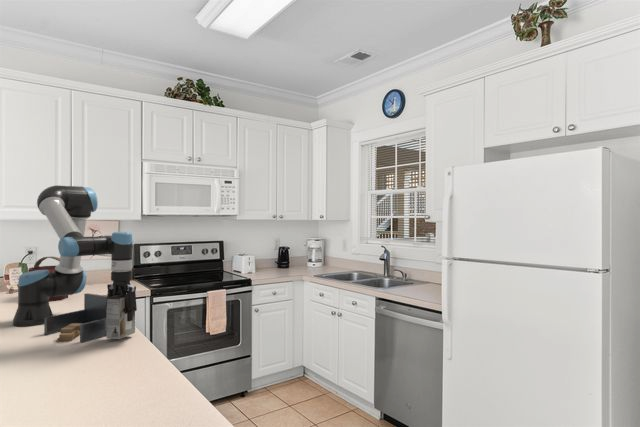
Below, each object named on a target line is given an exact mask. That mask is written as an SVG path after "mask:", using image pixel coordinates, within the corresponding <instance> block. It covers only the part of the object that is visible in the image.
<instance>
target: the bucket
mask: <svg viewBox="0 0 640 427" xmlns="http://www.w3.org/2000/svg"><path fill="white" fill-rule="evenodd" d="M47 259H53V260H55V261H58V263H59V262H60V257H57V256H43V257H41V258H40V259H38V260H37V261H35V262H34V266H32V267H29V268H28V269H27V270H28V272H31V271H37V270H49V272H54V271H55V267H56V266H57V265H43V266H40V265H41V264H42V262H43V261H45V260H47ZM68 297H69V295H64V296H56V297H49V303H50V302H58V301H59V302H60V301H64V300H65V299H68Z"/></svg>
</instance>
